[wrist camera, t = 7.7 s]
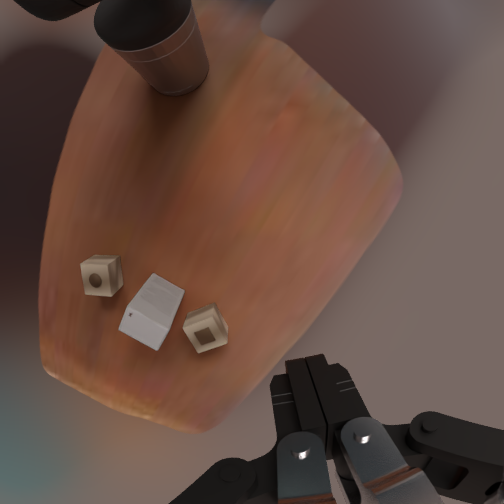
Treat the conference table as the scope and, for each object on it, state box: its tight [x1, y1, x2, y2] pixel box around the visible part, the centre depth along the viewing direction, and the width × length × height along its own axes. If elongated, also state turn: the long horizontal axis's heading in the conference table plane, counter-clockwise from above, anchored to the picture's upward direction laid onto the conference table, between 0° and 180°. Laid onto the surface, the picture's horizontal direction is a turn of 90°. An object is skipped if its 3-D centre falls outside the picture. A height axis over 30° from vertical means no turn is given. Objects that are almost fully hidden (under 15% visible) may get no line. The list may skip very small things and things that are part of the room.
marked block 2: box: [183, 303, 228, 353], centre depth 42 cm, size 5×5×5 cm
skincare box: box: [119, 273, 185, 351], centre depth 37 cm, size 6×4×12 cm
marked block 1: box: [80, 255, 123, 297], centre depth 39 cm, size 5×5×5 cm
